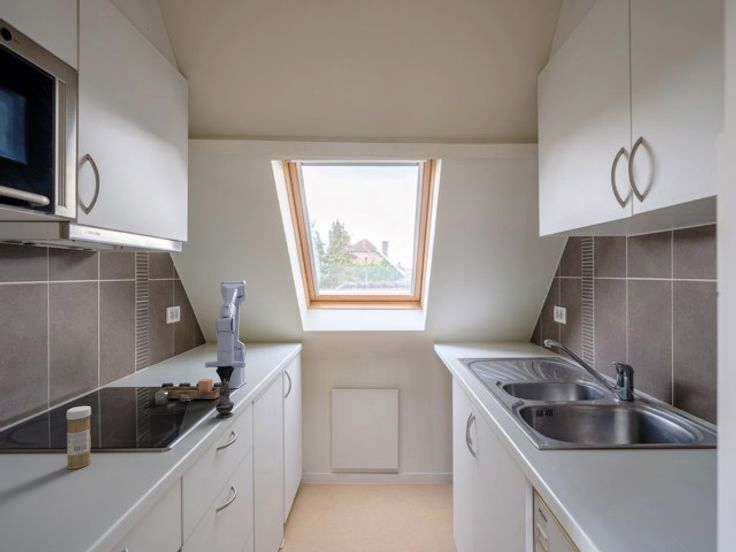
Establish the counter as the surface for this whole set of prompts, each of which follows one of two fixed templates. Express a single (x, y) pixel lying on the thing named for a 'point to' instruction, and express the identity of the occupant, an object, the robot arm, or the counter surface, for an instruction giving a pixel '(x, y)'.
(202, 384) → the orange block
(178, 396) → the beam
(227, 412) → the dark grey turned ornament
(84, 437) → the sprinkles bottle
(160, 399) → the weight
